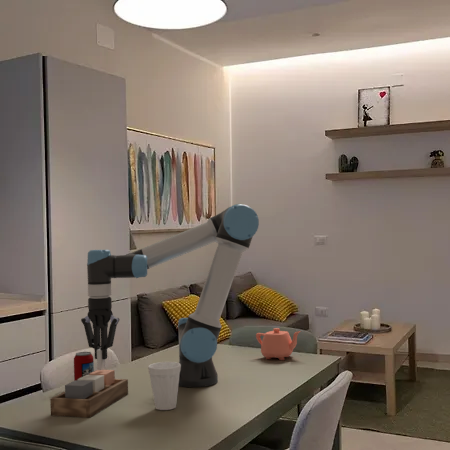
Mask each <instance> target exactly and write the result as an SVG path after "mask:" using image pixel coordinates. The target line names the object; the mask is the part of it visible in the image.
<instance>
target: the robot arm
mask: <svg viewBox="0 0 450 450" xmlns="http://www.w3.org/2000/svg"><path fill="white" fill-rule="evenodd" d="M259 225H260V220H259V217H258V214H257V212H256V211H255V210H254V208H252V207H251V206H249V205H248V204H244V203H237V204H233V205H231V206H228V207H227V208H226V209H224V210H223V211H221V212H219V213H218V214H216V215H214V216H211V217H209V218H208V220H207V221H206V222H204V223H202V224H200V225H197V226H195V227H194V226H193V227H192V228H189V229H186V230H185V231H182V232H180V233H177V234H175V235H172V236H170V237H168V238H165V239H162V240H160V241H158V242H157V241H156V242H155V243H152V244H150V245H147V246H145V247H143V248H140V249H137V250H135V251H133V252H129V253H126V254H123V255H119V254H118V255H115V254H111V253H112V252H111V250H110V249H90V250H89V251H88V252H87V262H86V266H87V268H86V269H87V273H86V274H87V296H88V297H89V298H88V299H87V305H88V306H87V308H88V312H87V315H86V316H85V317H82V318H81V320H80V321H81V323H82V325H83V326H84V331H85V335H86V340H87V344H88V348H92V349H93V351H94V359H95V360H96V368H97V369H96V370H106V360H107V359H108V349H109V348H111V347H113V345H114V342H115V341H114V340H115V335H116V330H117V327H118V326H117V325H118V324H119V322H120V318H119V317H116V316H114V313H113V312H112V308H113V307H112V306H113V305H112V297H111V295H112V279H130V278H131V279H132V278H134V279H135V278H136V279H138V278H139V279H140V278H146V277H147V276H148V270H149V269H152V268H154V267H157V266H159V265H162V264H164V263H166V262H169V261H172V260H174V259H176V258H178V257H181V256H183V255H186V254H189V253H191V252H194V251H196V250H198V249H201V248H204V247H207V246H209V245H210V244H211V245H212V244H213V243H217V247H216V250H215V253H214V257H213V259H212V261H211V265H210V267H209V270H208V273H207V276H206V279H205V280H204V281H205V282H204V284H203V287H202V291H201V293H200V296H199V298H198V299H199V300H198V302H197V305H196V308H195V311H194V312H192V313H190V314H189V315H188V317H180V318H179V319H178V324H177V328H178V330H177V331H178V355H179V356H178V359H179V361H178V363H180V364H181V370H180V375H179V384H178V387H184V388H201V387H202V388H203V387H210V386H212V385H213V386H214V385H215V384H217V383H218V381H219V380H218V379H219V377H218V371H217V370H216V367H215V364H214V361H213V356H214V355H215V354H216V351H217V349H218V339H219V335H220V333H221V330H222V324H221V321H220V319H221V316H222V313H223V311H224V307H225V304H226V301H227V299H228V297H229V293H230V290H231V286H232V285H233V281H234V278H235V275H236V272H237V271H238V266H239V264H240V261H241V258H242V256H243V253H244V252H246V251H248V250H249V248H250V246H251V244H252V240H253V237H254V236H255V235H256V233H257V232H258V229H259ZM109 323H110V325H109ZM108 327H109V330H108Z"/></svg>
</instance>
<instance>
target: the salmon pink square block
mask: <svg viewBox="0 0 450 450" xmlns="http://www.w3.org/2000/svg"><path fill="white" fill-rule="evenodd" d="M115 371H116V370H115V369H103V370H97V369H96V370H94V372H92V373H90V374H89V375H104V385H106V386H109V385H111V384H113V383H114V382H115V379H116V375H115Z"/></svg>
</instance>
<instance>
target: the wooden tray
mask: <svg viewBox="0 0 450 450" xmlns="http://www.w3.org/2000/svg"><path fill="white" fill-rule="evenodd" d="M128 395H129V379H128V378H115V382H114V383H113V384H111V385H109V386H106V385H104V388H103V389H102V390H100V391H98V392H93V394H92V395H91V396H89V397H87V398H85V399H71V398H65V391H63V392H61V393H58V394H57V395H55V396H53V397H51V398H50V399H49V400H50V401H49V402H50V416H54V417H67V418H70V417H71V418H85V419H86V418H88V419H91V418H92V417H94V416H95V415H97V414H99V413H100V412H102V411H103V410H105V409H107V408H109V407H110V406H112V405H113V404H115V403H116V402H118V401H120V400H122V399H123V398H125V397H126V396H128Z"/></svg>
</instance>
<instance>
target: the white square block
mask: <svg viewBox="0 0 450 450" xmlns="http://www.w3.org/2000/svg"><path fill="white" fill-rule="evenodd" d="M78 381H93V392H98V391H100V390H102V389H103V388H104V375H85V376H83V377H81V378H79V379H78Z"/></svg>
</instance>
